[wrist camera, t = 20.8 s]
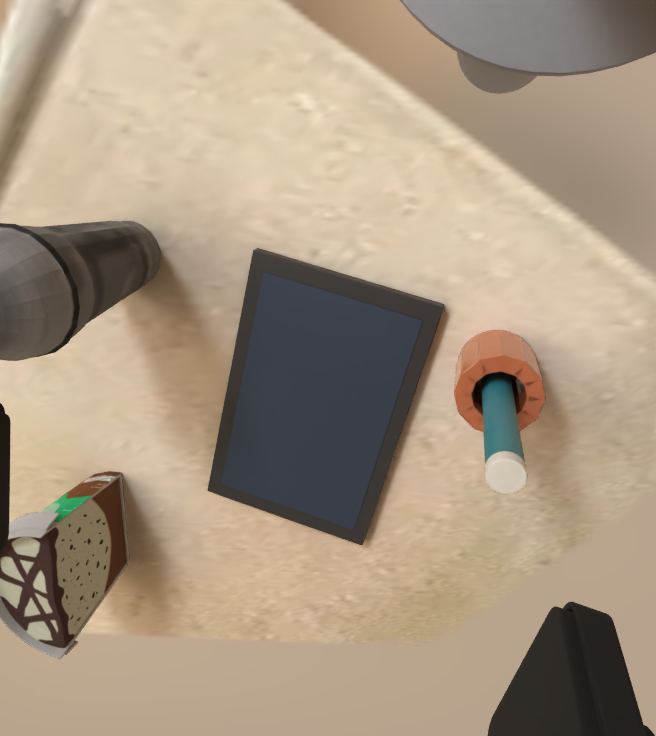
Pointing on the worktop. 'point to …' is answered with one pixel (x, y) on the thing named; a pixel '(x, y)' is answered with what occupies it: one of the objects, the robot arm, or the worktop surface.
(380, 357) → the tablet
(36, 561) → the food container
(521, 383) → the holder
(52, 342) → the beverage cup
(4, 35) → the worktop surface
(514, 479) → the stylus
